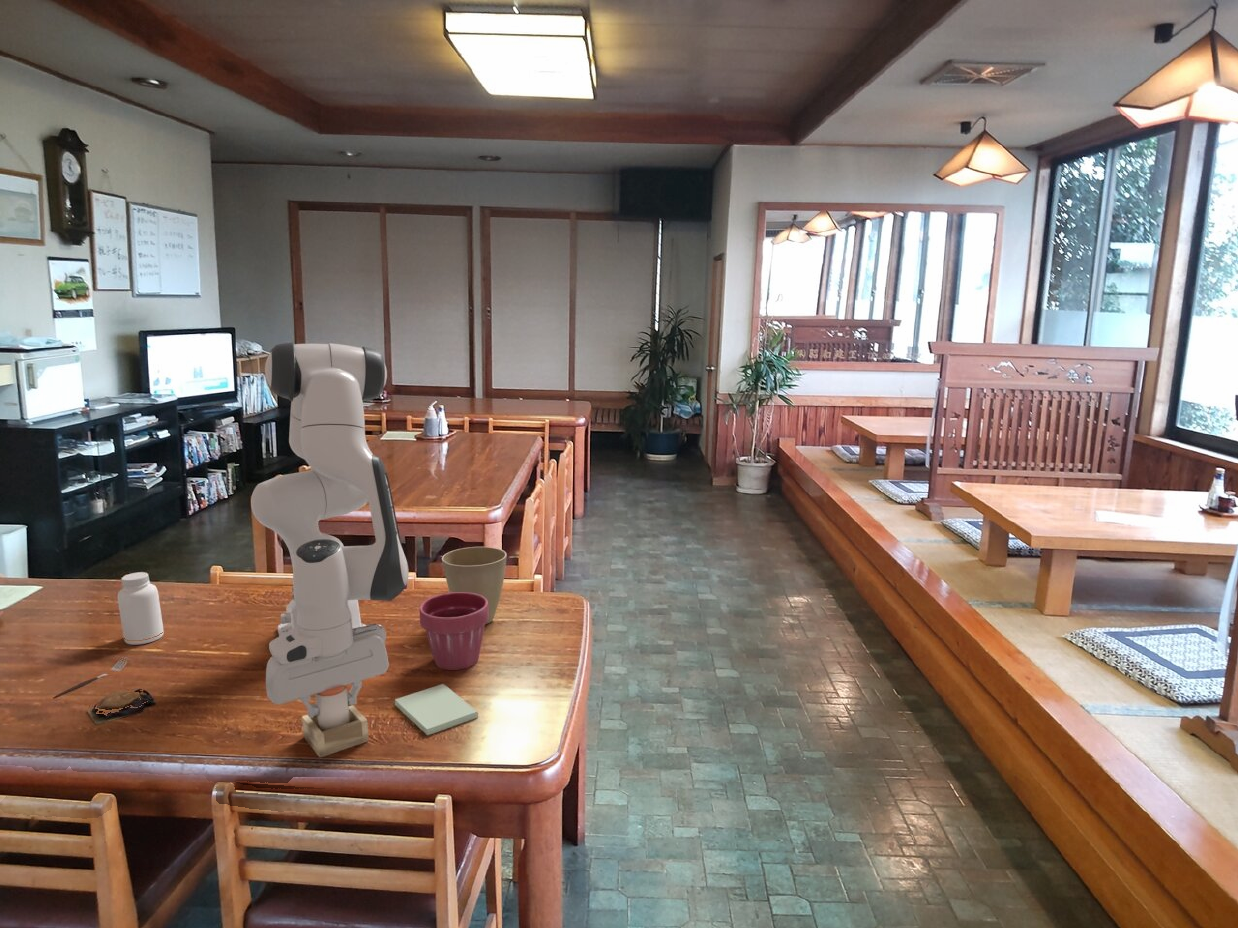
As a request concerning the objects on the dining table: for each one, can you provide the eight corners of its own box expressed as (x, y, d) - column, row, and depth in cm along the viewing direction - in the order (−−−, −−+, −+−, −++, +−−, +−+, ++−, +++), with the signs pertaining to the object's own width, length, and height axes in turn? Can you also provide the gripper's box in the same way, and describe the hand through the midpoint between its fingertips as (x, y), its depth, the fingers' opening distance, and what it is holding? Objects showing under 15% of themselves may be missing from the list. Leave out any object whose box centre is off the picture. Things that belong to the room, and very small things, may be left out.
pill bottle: (115, 642, 188) (106, 579, 185) (147, 629, 196) (138, 568, 192) (141, 647, 185) (131, 583, 182) (172, 634, 193) (163, 572, 189)
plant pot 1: (520, 622, 196) (517, 557, 193) (461, 638, 188) (457, 570, 185) (492, 603, 208) (489, 542, 205) (435, 617, 200) (431, 553, 197)
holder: (303, 737, 147) (301, 716, 147) (351, 721, 152) (349, 701, 152) (319, 757, 141) (317, 736, 140) (368, 740, 146) (367, 719, 145)
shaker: (314, 730, 147) (310, 683, 145) (344, 720, 150) (340, 674, 148) (324, 742, 143) (320, 694, 141) (354, 732, 146) (350, 685, 144)
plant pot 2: (477, 678, 169) (474, 618, 166) (411, 673, 171) (407, 614, 168) (499, 648, 182) (497, 593, 180) (438, 644, 185) (435, 589, 182)
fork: (49, 699, 163) (47, 689, 163) (123, 664, 178) (121, 656, 177) (58, 701, 162) (56, 691, 162) (131, 666, 177) (130, 658, 177)
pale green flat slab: (395, 705, 158) (394, 699, 158) (443, 689, 164) (443, 683, 164) (427, 735, 147) (426, 729, 147) (478, 717, 153) (477, 711, 153)
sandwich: (96, 729, 152) (93, 711, 151) (86, 712, 158) (83, 694, 158) (160, 709, 159) (158, 691, 159) (148, 693, 165) (145, 676, 165)
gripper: (377, 615, 151) (383, 685, 154) (258, 645, 139) (267, 721, 142) (391, 626, 146) (396, 698, 149) (269, 658, 134) (278, 736, 137)
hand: (332, 710), depth 146 cm, fingers closed on shaker, 5 cm apart
